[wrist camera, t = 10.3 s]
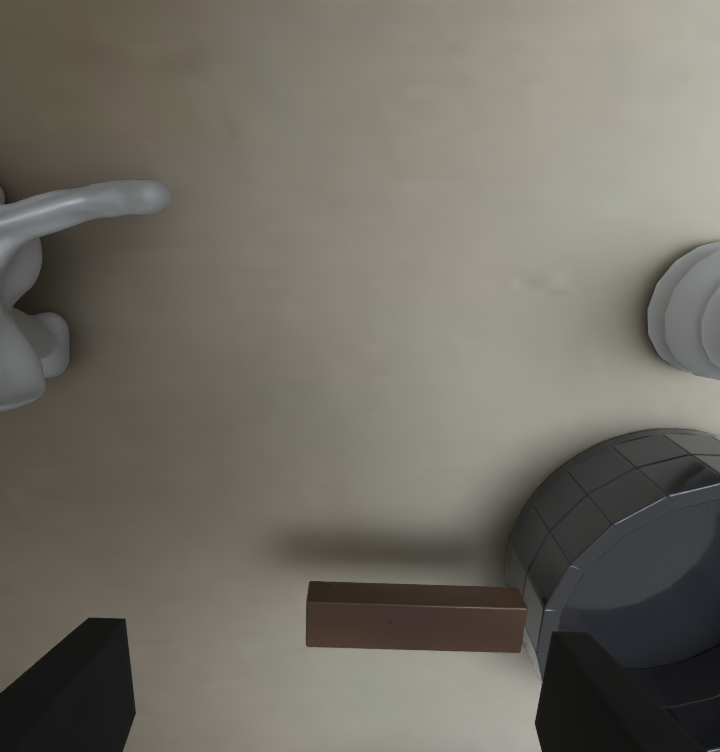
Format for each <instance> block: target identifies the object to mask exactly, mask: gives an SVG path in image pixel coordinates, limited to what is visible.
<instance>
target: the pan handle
mask: <svg viewBox="0 0 720 752" xmlns="http://www.w3.org/2000/svg"><path fill="white" fill-rule="evenodd" d="M526 615H527V606H526V604H525V602H524V599H523V597H522V595H521V592H520V590H519V588H516V587H484V586H451V585H419V584H387V583H355V582H323V581H310V582H309V586H308V594H307V601H306V646H307V647H329V648H364V649H399V650H434V651H468V652H503V653H520V651H521V645H522V639H523V633H524V627H525V621H526Z"/></svg>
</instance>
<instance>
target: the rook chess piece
mask: <svg viewBox="0 0 720 752" xmlns="http://www.w3.org/2000/svg"><path fill="white" fill-rule="evenodd" d="M647 313H648V335H649V337H650V339H651V341H652V343H653V345H654V347H655V349H656V351H657V353H658V355H659V356H660V357H661V358H663V359H664V360H665V361H667V362H668V363H670V364H671V365H672V366H674V367H675V368H676V369H678V370H683V371H688V372H692V373H693V374H694V375H697V376H702V377H708V378H713V379H718V380H720V242H715V243H710V244H705V245H701V246H699V247H697V248H696V249H694V250H692V251H691V252H689V253H688V254H686V255H684V256H683V257H681V258H680V259H678V260H676V261H675V262H674V263H673V265H672V266H671V267H670V268H669V270H668V271H667V272H666V273H665V274H664V276H663V277H662V278H661V279H660V280H659V282H658V283H657V284H656V287H655V290H654V293H653V296H652V298H651V301H650V304H649V307H648V310H647Z"/></svg>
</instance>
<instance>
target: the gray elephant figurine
mask: <svg viewBox="0 0 720 752" xmlns="http://www.w3.org/2000/svg"><path fill="white" fill-rule="evenodd" d="M171 202H172V195H171V192H170V190H169V189H168V188H167V187H166V186H165V185H164V184H162V183H161V182H158V181H155V180H149V179H138V180H118V181H108V182H103V183H95V184H91V185H88V186H84V187H79V188H74V189H64V190H56V191H52V192H47V193H42V194H38V195H35V196H32V197H29V198H26V199H23V200H20V201H18V202H15V203H11V204H4V203H5V194H4V191H3V189H2V188H1V186H0V412H1V411H7V410H12V409H16V408H19V407H22V406H25V405H28V404H30V403H32V402H34V401H35V400H37V399H39V398H40V397H41V396H42V395H43V394H44V393H45V390H46V385H45V378H52V377H56V376H58V375H60V374H62V373H63V372H64V371H65V370H66V368H67V367H68V364H69V359H70V333H69V328H68V325H67V323H66V321H65V320H64V319H63V318H62V317H61V316H60V315H58V314H56V313H52V312H43V313H39V314H36V315H28V314H26V313H24V312H22V311H20V310H18V309H16V308H14V307H13V305H14V304H15V303H16V302H17V301H18V299H19V298H20V297H21V296H22V295H24V294H25V293H26V292H27V291H28V290H29V289H30V288H31V287H32V286H33V285H34V283H35V282H36V280H37V278H38V276H39V273H40V270H41V266H42V247H41V242H40V239H39V237H41V236H44V235H48V234H52V233H55V232H58V231H61V230H64V229H67V228H70V227H73V226H75V225H78V224H80V223H83V222H85V221H89V220H93V219H97V218H111V217H117V216H123V215H153V214H158V213H161V212H163V211H165V210H166V209H167V208H169V206H170V205H171Z"/></svg>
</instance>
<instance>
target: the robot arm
mask: <svg viewBox="0 0 720 752" xmlns="http://www.w3.org/2000/svg"><path fill="white" fill-rule="evenodd" d="M135 714H136V710H135V701H134V692H133V683H132V674H131V665H130V656H129V647H128V638H127V629H126V620H125V619H117V618H88V619H87V620H85V621H84V622H83V623H82V624H81V625H79V626H78V627H77V628H76V629H75V630H74V631H72V632H71V633H70V634H69V635H68V636H67V637H65V638H64V639H63V640H62V641H61V642H60V643H58V644H57V645H56V646H55V647H54V648H53V649H51V650H50V651H49V652H48V653H47V654H46V655H44V656H43V657H42V658H41V659H40V660H39V661H37V662H36V663H35V664H34V665H33V666H32V667H30V668H29V669H28V670H27V671H26V672H25V673H23V674H22V675H21V676H20V677H19V678H18V679H16V680H15V681H14V682H13V683H12V684H11V685H9V686H8V687H7V688H6V689H5V690H4V691H2V692H1V693H0V752H123V749H124V746H125V743H126V740H127V737H128V734H129V731H130V728H131V726H132V723H133V720H134V717H135ZM535 726H536V730H537V734H538V738H539V742H540V746H541V750H542V752H707V751H706V750H705V749H704V748H703V747H702V746H701V745H700V744H699V743H698V742H697V741H696V740H695V739H694V738H693V737H692V736H691V735H690V734H689V733H688V732H687V731H686V730H685V729H684V728H683V727H682V726H681V725H680V724H679V723H678V722H677V721H676V720H675V719H674V718H673V717H672V716H671V715H670V714H669V713H668V712H667V711H666V710H664V709H663V708H662V707H661V706H660V704H659V703H658V702H657V701H656V700H655V699H654V698H653V697H652V696H651V695H650V694H649V693H648V692H647V691H646V690H645V689H644V688H643V687H642V686H641V685H640V684H639V683H638V682H637V681H636V680H635V679H634V678H633V677H632V676H631V675H630V674H629V673H628V672H627V671H626V670H625V669H624V668H623V667H622V666H621V665H620V664H619V663H618V662H617V661H616V660H615V659H614V658H613V657H612V656H611V655H610V654H609V653H608V652H607V651H606V650H605V649H604V648H603V647H602V646H601V645H600V644H599V643H598V642H597V641H596V640H595V639H594V638H593V637H592V636H591V635H590V634H589V633H588V632H558V631H552V634H551V639H550V645H549V650H548V655H547V661H546V666H545V671H544V677H543V682H542V688H541V693H540V698H539V704H538V709H537V714H536V720H535Z"/></svg>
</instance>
